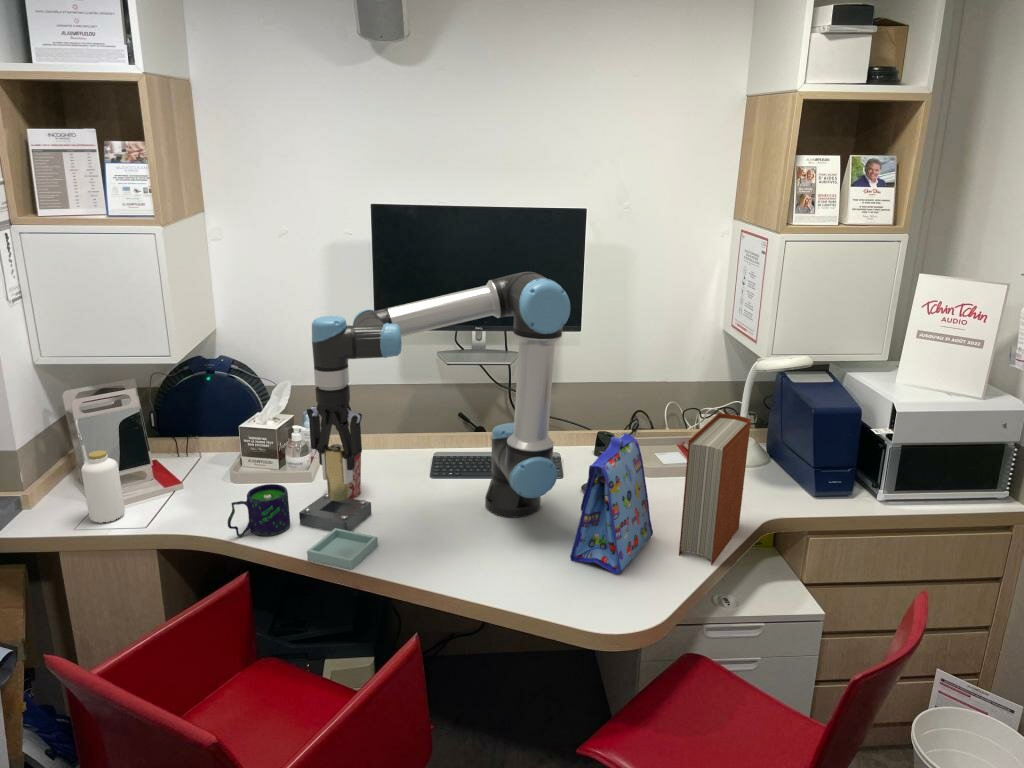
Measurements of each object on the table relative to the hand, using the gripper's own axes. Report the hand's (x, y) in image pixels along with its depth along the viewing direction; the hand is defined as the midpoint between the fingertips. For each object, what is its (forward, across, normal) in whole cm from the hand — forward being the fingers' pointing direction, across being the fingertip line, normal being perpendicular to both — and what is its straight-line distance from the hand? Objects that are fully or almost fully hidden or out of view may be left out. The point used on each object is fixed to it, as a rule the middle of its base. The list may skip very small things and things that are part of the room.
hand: (338, 479), depth 181 cm
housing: (+19, +10, -13) cm, 25 cm away
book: (+19, -82, -40) cm, 93 cm away
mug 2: (+19, +17, -29) cm, 39 cm away
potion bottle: (+19, +66, +9) cm, 69 cm away
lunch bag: (+19, -60, -26) cm, 68 cm away
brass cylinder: (+4, 0, 0) cm, 4 cm away
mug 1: (+19, +25, -1) cm, 32 cm away
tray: (+19, -1, +1) cm, 19 cm away
